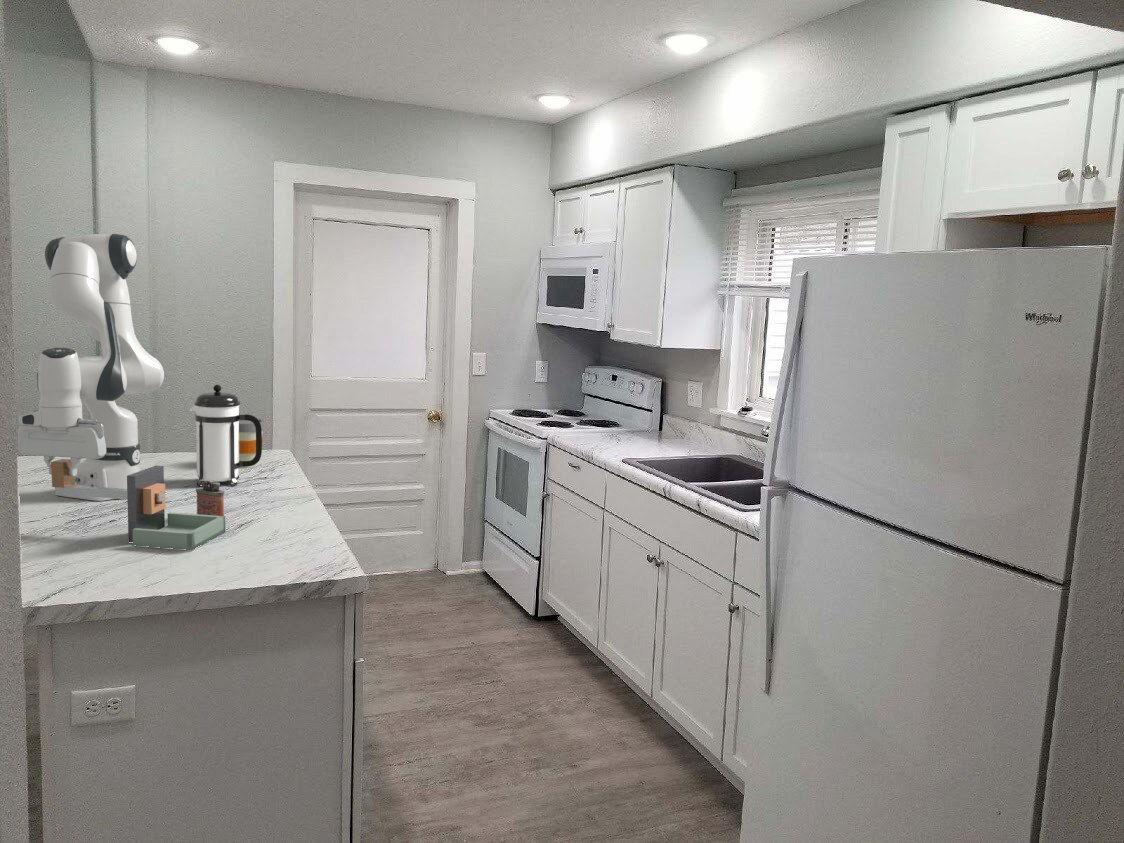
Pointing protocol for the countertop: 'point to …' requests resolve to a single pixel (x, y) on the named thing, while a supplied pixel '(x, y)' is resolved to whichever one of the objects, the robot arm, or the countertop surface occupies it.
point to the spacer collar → (153, 499)
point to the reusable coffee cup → (248, 441)
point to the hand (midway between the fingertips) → (63, 474)
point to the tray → (181, 531)
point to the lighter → (210, 498)
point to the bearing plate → (135, 500)
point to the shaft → (67, 487)
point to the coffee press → (221, 436)
